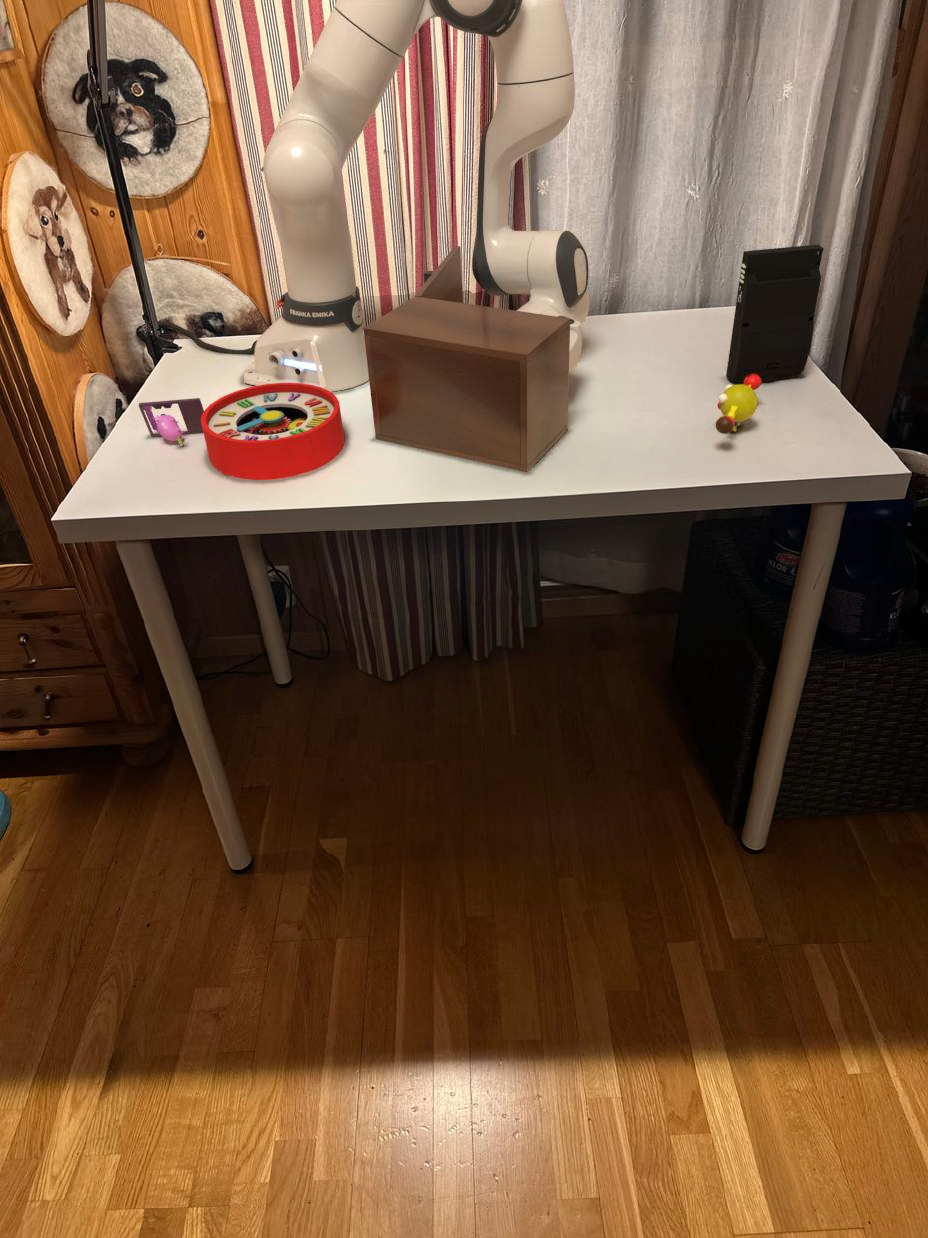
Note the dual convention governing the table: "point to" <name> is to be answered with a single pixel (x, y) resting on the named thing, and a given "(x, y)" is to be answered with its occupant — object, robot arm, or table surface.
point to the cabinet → (469, 380)
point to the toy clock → (273, 431)
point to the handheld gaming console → (774, 313)
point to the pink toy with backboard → (168, 424)
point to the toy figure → (737, 403)
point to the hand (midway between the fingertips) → (491, 366)
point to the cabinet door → (444, 279)
